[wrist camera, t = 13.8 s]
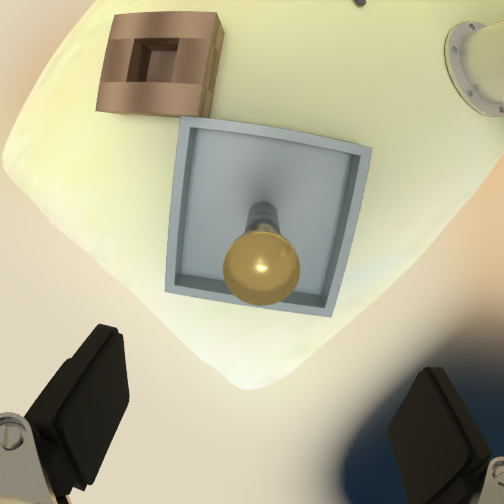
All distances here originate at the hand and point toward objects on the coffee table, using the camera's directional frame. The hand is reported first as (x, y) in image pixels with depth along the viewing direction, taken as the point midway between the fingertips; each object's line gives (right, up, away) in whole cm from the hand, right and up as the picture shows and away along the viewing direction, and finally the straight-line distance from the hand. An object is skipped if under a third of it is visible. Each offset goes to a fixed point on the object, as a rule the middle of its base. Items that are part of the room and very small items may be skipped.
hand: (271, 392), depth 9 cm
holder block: (-9, +23, +20) cm, 32 cm away
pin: (+1, +8, +24) cm, 26 cm away
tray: (+1, +8, +25) cm, 26 cm away
